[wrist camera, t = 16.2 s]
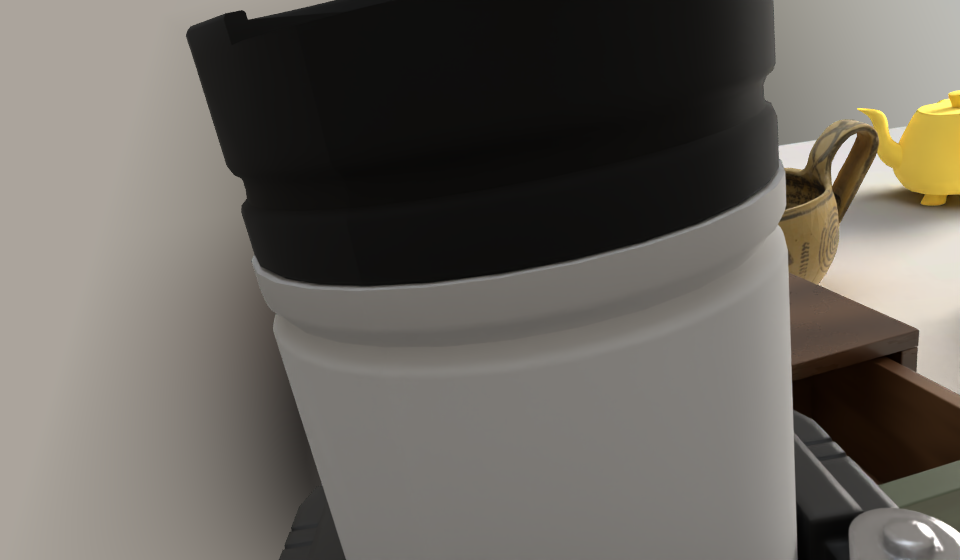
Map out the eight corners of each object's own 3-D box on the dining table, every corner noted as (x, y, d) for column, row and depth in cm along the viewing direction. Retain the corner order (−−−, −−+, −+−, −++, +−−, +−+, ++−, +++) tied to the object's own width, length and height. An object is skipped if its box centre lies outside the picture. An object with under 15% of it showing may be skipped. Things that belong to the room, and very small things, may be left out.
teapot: (926, 174, 83) (931, 82, 80) (1058, 185, 71) (1072, 76, 67) (853, 201, 79) (855, 104, 75) (981, 218, 66) (991, 102, 62)
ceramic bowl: (833, 259, 63) (834, 106, 58) (916, 334, 48) (927, 134, 42) (607, 285, 68) (590, 145, 63) (615, 362, 52) (593, 184, 47)
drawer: (1104, 637, 24) (1139, 463, 21) (828, 737, 22) (829, 564, 20) (826, 431, 38) (826, 311, 35) (645, 485, 36) (631, 364, 34)
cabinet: (910, 498, 33) (919, 329, 30) (683, 569, 31) (667, 399, 28) (744, 374, 47) (738, 249, 44) (581, 419, 45) (562, 293, 42)
